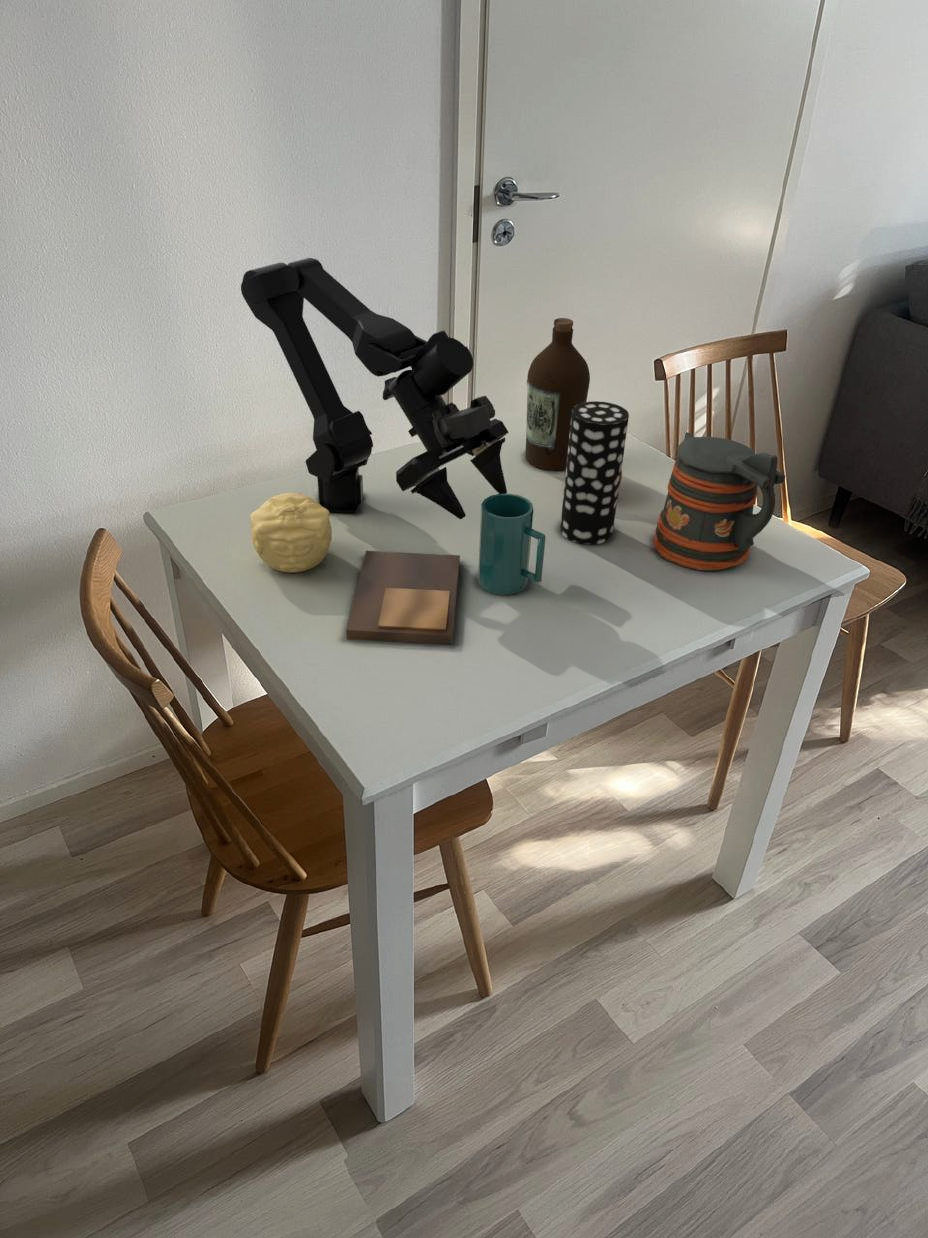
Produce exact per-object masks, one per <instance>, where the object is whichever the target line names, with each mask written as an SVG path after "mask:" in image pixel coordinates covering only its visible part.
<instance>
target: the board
mask: <svg viewBox="0 0 928 1238" xmlns="http://www.w3.org/2000/svg"><path fill="white" fill-rule="evenodd" d="M460 565H461V555H459V554H441V553H440V554H438V553H420V552H419V553H418V552H401V551H400V552H399V551H398V552H397V551H379V550H365V553H364V557H363V561H362V565H361V569H360V573H359V577H358V581H357V585H356V589H355V593H354V598H353V601H352V605H351V609H350V614H349V617H348V620H347V621H348V622H347V625H346V629H345V635H346V640H358V641H359V640H360V641H380V642H396V643H414V644H415V643H417V644H433V645H434V644H437V645H453V637H454V636H453V635H454V626H455V614H456V605H457V596H458V587H459V586H458V584H459V574H460Z"/></svg>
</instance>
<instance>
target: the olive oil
mask: <svg viewBox="0 0 928 1238" xmlns="http://www.w3.org/2000/svg"><path fill="white" fill-rule="evenodd" d="M573 327H574V320H572V319H571V318H567V317H559V318H555V319H554V320H553V328H552V335H551V342H550V343H549V344H548V345H547V346H546V347H544V348H543V350H542V351H540V352H539V353H538V354H537V355H535V357H534V358H533V360H532V362H531V363H530V366H529V368H528V372H527V377H526V432H525V433H526V434H525V454H524V455H525V460H526V461H527V462H528V463H529V465H531V466H533V467H535V468H539V469H540V470H541V469H542V470H546V471H562V470H566V466H567V456H568V446H569V436H570V426H571V416H572V409H573V408H574V406H576V405H578V404H580V403H584V402H588V401H587V400H588V395H589V394H588V393H589V389H590V382H591V373H590V369H589V364H588V363H587V361H586V359H585V358H584V357H583V355H582V354H581V353H580V352H579V350H578V349H577V348H576V347H575V346H574V344H573V337H574V336H573V335H574V328H573Z"/></svg>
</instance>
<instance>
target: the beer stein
mask: <svg viewBox="0 0 928 1238" xmlns="http://www.w3.org/2000/svg"><path fill="white" fill-rule="evenodd" d="M675 454H676V456H677V458H676V459H675V461H674V463H673V468H672V471H671V474H670V476H669V477H670V478H669V480H668V484H667V496H666V498H665V502H664V504H663V508H662V510H661V511H660V513H659V515H658V516H659V517H658V520H657V524H656V528H655V532H654V537H653V547H654V549H655V550H656V551H657V552H658V554H659V555H660V556H661V557H662V558H663V559H665V560H667V561H670V562H671V563H674V564H677V565H680V566H682V567H685V568H689V569H693V570H697V571H706V572H717V571H719V572H720V571H725V570H730V569H735V568H736V567H737V566H739V565H742V564H743V563H744V562H745V561H746V560H747V559H748V557H749V555H750V552H751V547H753V546H754V544H755V542H754V538H755V537H756V536H758V535H759V534H760V533H761V532H762V531H763V530H764V529H765V528H766V527H767V525H768V524H769V523H770V521H771V519H772V517H773V515H774V512H775V507H776V493H775V488H774V487H775V485H778V484H783V483H784V482H785V479H786V475H785V474H784V473H782V472H780V471H778V461H779V459H778V456H777V455H772V454H771V453H768V452H759V453H756V452H755V451H754V450H753V449H752V448H750V447H749V446H747V445H745V444H744V443H741V442H739V441H736V440H732V439H728V438H723V437H717V436H716V437H715V436H694V435H692V434H691V433H690V432H688V431H686V432H685V433H684V437H683V441H682V442H681V443H679V445H678V446H677V448H676V453H675ZM758 488H759V489H760V491H761V494H762V506H761V508H760V510H759V511H758V512H757V513H753V512H754V505H755V504H756V501H757V498H758V494H759V492H758V491H759V490H758Z"/></svg>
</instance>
